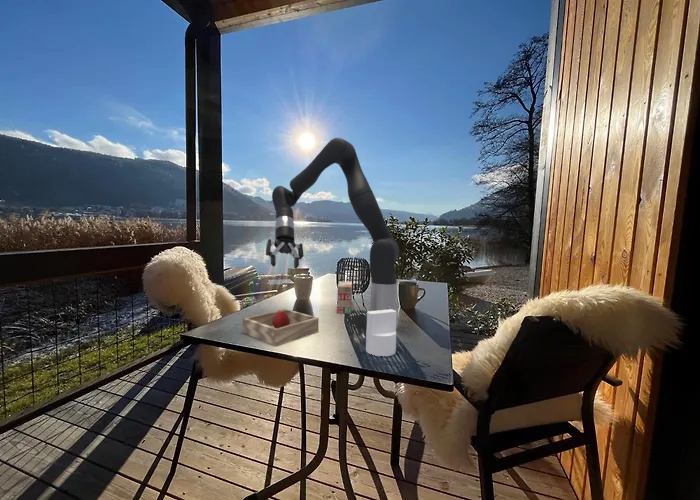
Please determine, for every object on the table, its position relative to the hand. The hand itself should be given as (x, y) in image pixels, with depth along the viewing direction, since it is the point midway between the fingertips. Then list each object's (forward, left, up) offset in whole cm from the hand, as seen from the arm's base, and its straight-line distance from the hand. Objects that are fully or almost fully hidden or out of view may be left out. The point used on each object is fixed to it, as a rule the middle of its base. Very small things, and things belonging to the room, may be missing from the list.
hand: (285, 266), depth 115 cm
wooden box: (-7, +7, -22) cm, 24 cm away
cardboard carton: (-1, -35, -22) cm, 41 cm away
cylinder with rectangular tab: (-42, -3, -22) cm, 48 cm away
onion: (-7, +7, -22) cm, 24 cm away
